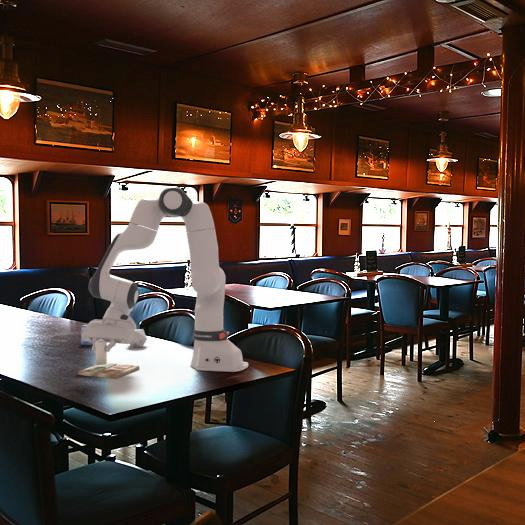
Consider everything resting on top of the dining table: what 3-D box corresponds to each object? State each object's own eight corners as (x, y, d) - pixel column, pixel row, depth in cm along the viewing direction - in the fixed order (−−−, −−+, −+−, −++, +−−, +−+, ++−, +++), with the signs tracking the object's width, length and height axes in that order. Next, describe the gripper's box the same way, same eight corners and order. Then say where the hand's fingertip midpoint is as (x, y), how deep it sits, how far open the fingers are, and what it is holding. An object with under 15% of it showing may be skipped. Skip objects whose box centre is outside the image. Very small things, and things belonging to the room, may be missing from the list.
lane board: (139, 369, 238) (139, 365, 237) (116, 378, 222) (116, 374, 222) (103, 365, 243) (103, 361, 243) (77, 374, 228) (77, 370, 228)
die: (137, 350, 276) (149, 332, 279) (121, 340, 277) (133, 322, 280) (140, 353, 284) (152, 335, 287) (124, 343, 285) (136, 326, 288)
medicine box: (81, 344, 286) (80, 325, 286) (87, 342, 290) (87, 324, 290) (95, 345, 283) (95, 326, 283) (101, 344, 287) (101, 325, 287)
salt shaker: (108, 363, 235) (108, 338, 234) (102, 365, 231) (102, 340, 231) (99, 362, 236) (99, 338, 236) (93, 364, 232) (93, 339, 232)
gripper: (88, 314, 243) (72, 343, 234) (134, 317, 236) (120, 347, 227) (94, 324, 247) (80, 353, 238) (140, 327, 240) (127, 357, 232)
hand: (100, 350), depth 233 cm, fingers closed on salt shaker, 4 cm apart
